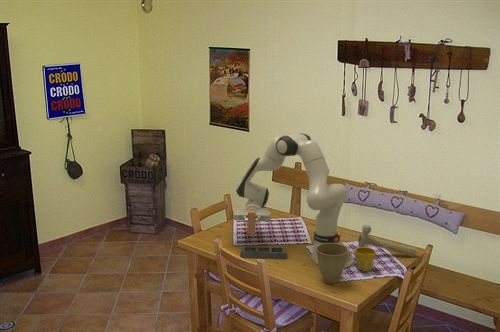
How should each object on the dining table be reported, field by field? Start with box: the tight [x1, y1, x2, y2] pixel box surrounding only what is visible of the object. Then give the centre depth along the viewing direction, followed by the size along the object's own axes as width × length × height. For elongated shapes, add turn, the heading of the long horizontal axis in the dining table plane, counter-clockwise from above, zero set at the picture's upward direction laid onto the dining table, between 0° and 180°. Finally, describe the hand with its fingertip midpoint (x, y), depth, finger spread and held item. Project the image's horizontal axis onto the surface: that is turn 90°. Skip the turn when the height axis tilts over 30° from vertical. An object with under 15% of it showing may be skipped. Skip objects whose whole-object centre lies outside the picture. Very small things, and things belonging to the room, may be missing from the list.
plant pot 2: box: [354, 246, 377, 272], centre depth 271 cm, size 10×10×10 cm
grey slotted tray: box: [240, 245, 288, 260], centre depth 286 cm, size 24×8×3 cm, turn 88°
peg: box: [247, 210, 256, 235], centre depth 290 cm, size 4×4×12 cm
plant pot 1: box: [316, 243, 349, 284], centre depth 258 cm, size 15×15×16 cm
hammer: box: [357, 224, 417, 258], centre depth 287 cm, size 16×5×30 cm
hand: (251, 220), depth 288 cm, fingers closed on peg, 4 cm apart
